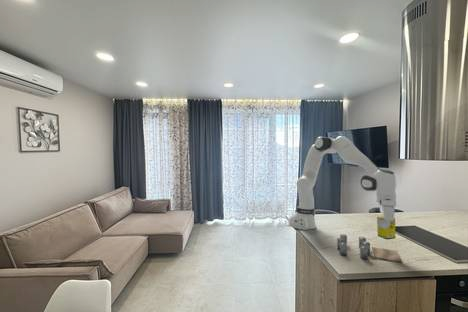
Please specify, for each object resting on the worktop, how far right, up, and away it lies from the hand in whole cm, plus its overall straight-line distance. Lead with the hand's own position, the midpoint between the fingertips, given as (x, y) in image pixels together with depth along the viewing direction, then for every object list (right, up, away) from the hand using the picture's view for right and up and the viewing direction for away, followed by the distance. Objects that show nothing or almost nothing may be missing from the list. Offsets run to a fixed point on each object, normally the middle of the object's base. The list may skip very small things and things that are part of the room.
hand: (386, 224), depth 124 cm
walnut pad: (0, -17, 0) cm, 17 cm away
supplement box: (0, -7, 0) cm, 7 cm away
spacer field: (-15, -17, +6) cm, 23 cm away
